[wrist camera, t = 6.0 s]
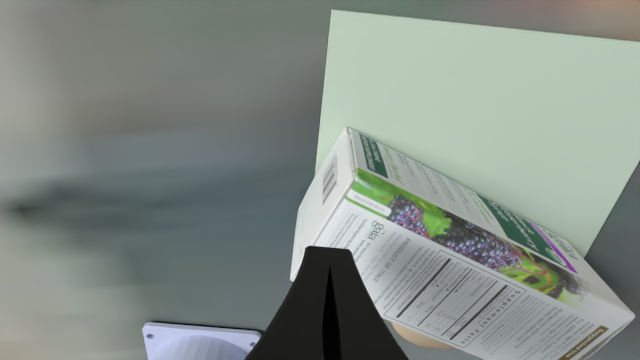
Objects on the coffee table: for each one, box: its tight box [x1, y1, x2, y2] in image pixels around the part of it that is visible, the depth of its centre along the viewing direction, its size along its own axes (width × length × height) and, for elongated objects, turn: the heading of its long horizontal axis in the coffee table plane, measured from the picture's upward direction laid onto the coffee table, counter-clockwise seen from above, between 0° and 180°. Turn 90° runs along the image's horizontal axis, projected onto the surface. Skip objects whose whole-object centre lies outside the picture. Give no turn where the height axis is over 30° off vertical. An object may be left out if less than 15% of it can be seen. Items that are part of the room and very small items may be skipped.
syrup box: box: [290, 127, 635, 360], centre depth 19 cm, size 6×6×14 cm
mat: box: [315, 9, 640, 259], centre depth 20 cm, size 13×16×1 cm
